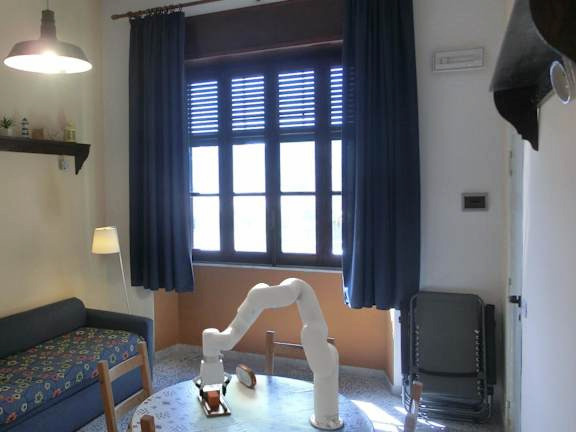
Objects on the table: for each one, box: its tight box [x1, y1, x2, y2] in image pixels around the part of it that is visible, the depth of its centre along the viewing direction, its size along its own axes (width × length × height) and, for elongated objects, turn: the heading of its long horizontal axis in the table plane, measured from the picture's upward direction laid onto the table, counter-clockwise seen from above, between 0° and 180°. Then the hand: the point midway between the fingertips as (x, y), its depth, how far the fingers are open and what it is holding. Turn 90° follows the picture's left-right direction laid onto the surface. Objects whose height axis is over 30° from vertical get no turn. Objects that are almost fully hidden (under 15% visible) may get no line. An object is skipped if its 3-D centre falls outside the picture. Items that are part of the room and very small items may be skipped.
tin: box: [235, 363, 257, 389], centre depth 237 cm, size 15×3×8 cm, turn 25°
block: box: [207, 391, 219, 406], centre depth 217 cm, size 6×4×4 cm, turn 10°
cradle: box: [197, 386, 232, 418], centre depth 216 cm, size 20×10×5 cm, turn 11°
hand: (213, 396), depth 217 cm, fingers open, 9 cm apart
